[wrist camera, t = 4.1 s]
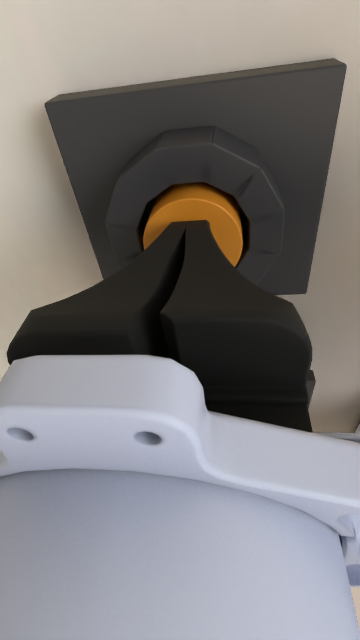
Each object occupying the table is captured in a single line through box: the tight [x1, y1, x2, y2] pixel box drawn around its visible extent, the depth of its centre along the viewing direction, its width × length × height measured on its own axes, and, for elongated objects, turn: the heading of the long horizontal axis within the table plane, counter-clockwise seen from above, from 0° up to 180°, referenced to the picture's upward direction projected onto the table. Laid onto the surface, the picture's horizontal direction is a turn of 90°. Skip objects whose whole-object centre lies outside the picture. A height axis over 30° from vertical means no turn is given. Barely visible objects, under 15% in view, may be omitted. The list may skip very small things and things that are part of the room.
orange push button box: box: [45, 58, 347, 295], centre depth 14 cm, size 10×9×4 cm
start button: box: [143, 182, 243, 267], centre depth 13 cm, size 4×4×2 cm
